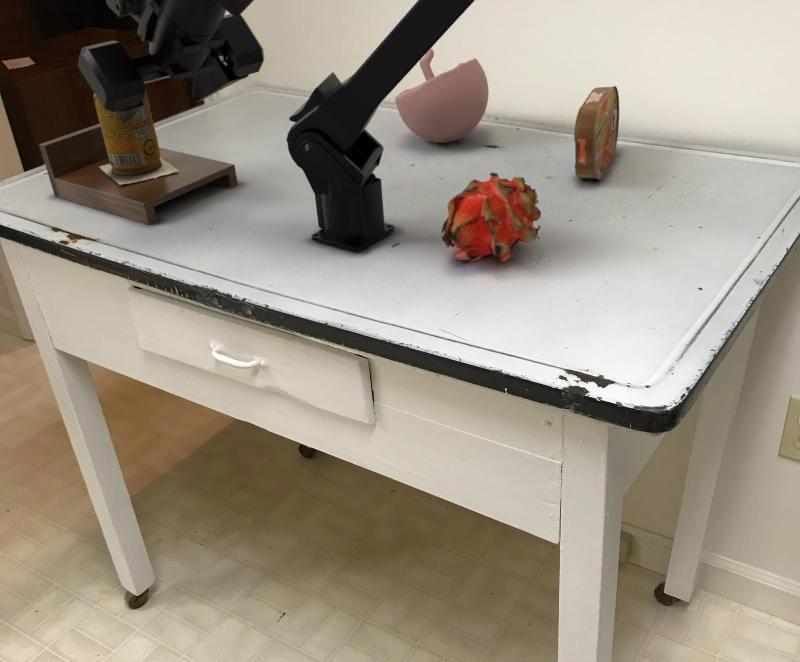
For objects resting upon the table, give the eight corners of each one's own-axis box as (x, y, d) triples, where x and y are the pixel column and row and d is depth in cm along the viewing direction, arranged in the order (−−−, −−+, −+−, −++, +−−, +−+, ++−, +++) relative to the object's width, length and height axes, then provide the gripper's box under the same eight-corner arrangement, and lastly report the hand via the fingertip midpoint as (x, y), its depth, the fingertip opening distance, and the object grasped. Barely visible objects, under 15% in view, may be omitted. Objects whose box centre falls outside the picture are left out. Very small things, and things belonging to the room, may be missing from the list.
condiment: (155, 154, 108) (133, 55, 102) (179, 172, 102) (157, 68, 96) (99, 168, 105) (71, 67, 99) (120, 187, 99) (92, 81, 93)
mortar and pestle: (431, 121, 121) (428, 35, 114) (505, 133, 115) (506, 43, 108) (380, 147, 113) (374, 56, 107) (457, 161, 107) (454, 66, 101)
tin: (595, 190, 96) (600, 115, 92) (567, 188, 97) (571, 113, 93) (619, 147, 108) (625, 77, 103) (594, 145, 109) (598, 76, 104)
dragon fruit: (542, 250, 88) (457, 305, 83) (490, 189, 89) (404, 239, 85) (577, 203, 80) (485, 260, 76) (519, 137, 82) (426, 189, 77)
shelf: (238, 184, 105) (228, 131, 101) (148, 224, 96) (135, 168, 92) (143, 161, 114) (132, 112, 111) (54, 196, 106) (38, 144, 102)
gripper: (229, -73, 87) (194, 31, 100) (56, -45, 77) (42, 66, 90) (287, 18, 86) (243, 110, 100) (120, 58, 76) (96, 155, 90)
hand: (159, 108), depth 95 cm, fingers open, 9 cm apart
